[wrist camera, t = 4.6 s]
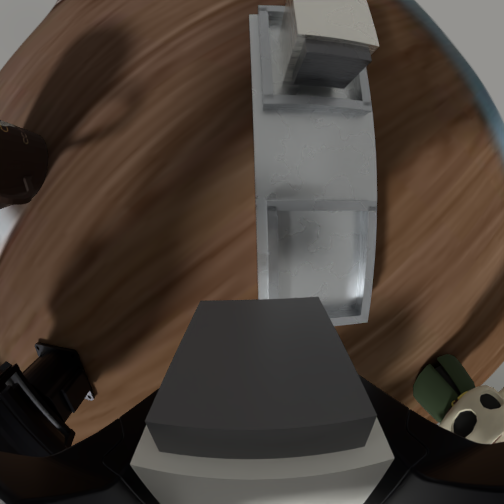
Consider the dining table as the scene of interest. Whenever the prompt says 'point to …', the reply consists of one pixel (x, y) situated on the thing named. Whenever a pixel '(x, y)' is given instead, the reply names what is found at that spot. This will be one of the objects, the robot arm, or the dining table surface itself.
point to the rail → (315, 154)
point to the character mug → (461, 402)
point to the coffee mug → (20, 164)
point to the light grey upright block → (261, 412)
